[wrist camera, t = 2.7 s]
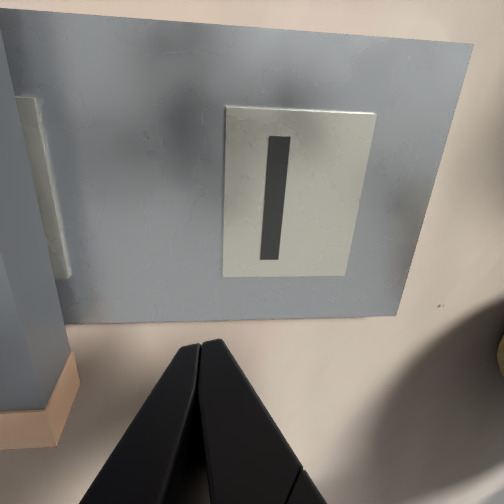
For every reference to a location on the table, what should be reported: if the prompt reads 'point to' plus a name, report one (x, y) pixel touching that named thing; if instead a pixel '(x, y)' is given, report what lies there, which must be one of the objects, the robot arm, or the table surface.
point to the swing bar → (28, 301)
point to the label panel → (228, 163)
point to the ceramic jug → (500, 355)
